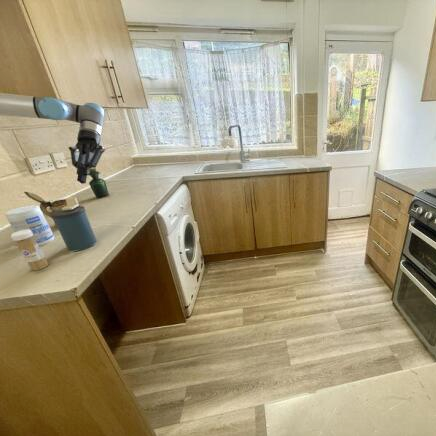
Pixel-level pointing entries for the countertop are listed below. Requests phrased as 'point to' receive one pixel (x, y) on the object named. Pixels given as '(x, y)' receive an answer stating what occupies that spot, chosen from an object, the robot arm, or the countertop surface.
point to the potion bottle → (98, 184)
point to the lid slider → (70, 204)
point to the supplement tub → (31, 223)
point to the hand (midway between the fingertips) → (81, 181)
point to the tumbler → (74, 228)
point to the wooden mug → (47, 204)
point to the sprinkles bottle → (30, 249)
